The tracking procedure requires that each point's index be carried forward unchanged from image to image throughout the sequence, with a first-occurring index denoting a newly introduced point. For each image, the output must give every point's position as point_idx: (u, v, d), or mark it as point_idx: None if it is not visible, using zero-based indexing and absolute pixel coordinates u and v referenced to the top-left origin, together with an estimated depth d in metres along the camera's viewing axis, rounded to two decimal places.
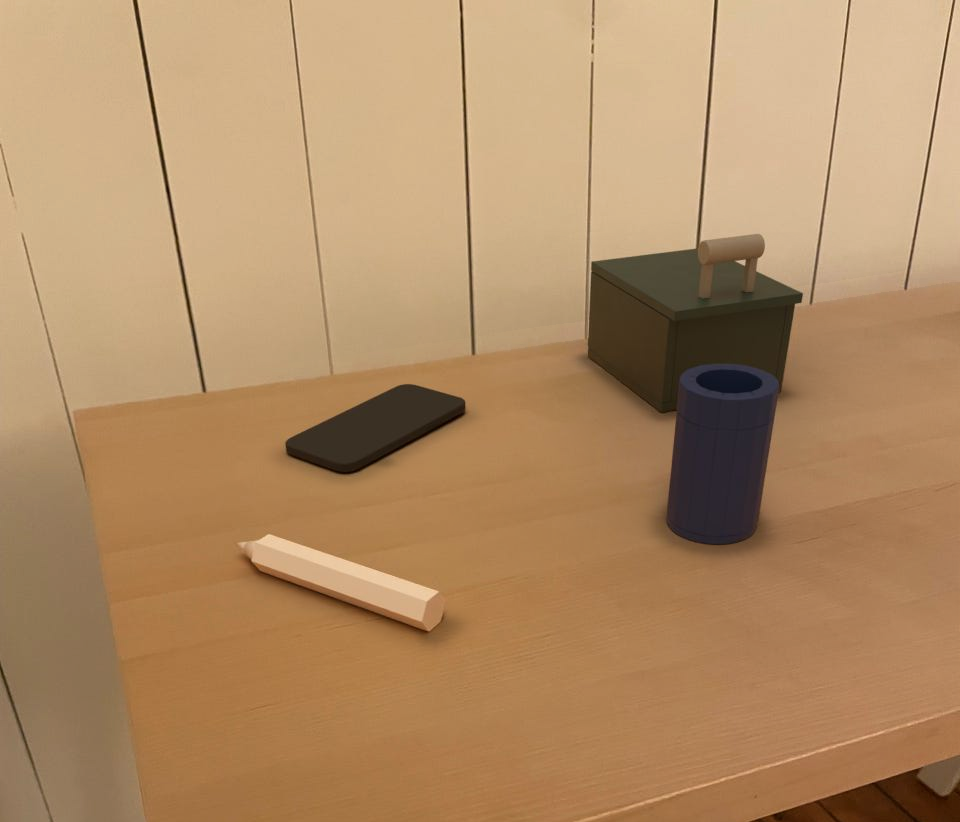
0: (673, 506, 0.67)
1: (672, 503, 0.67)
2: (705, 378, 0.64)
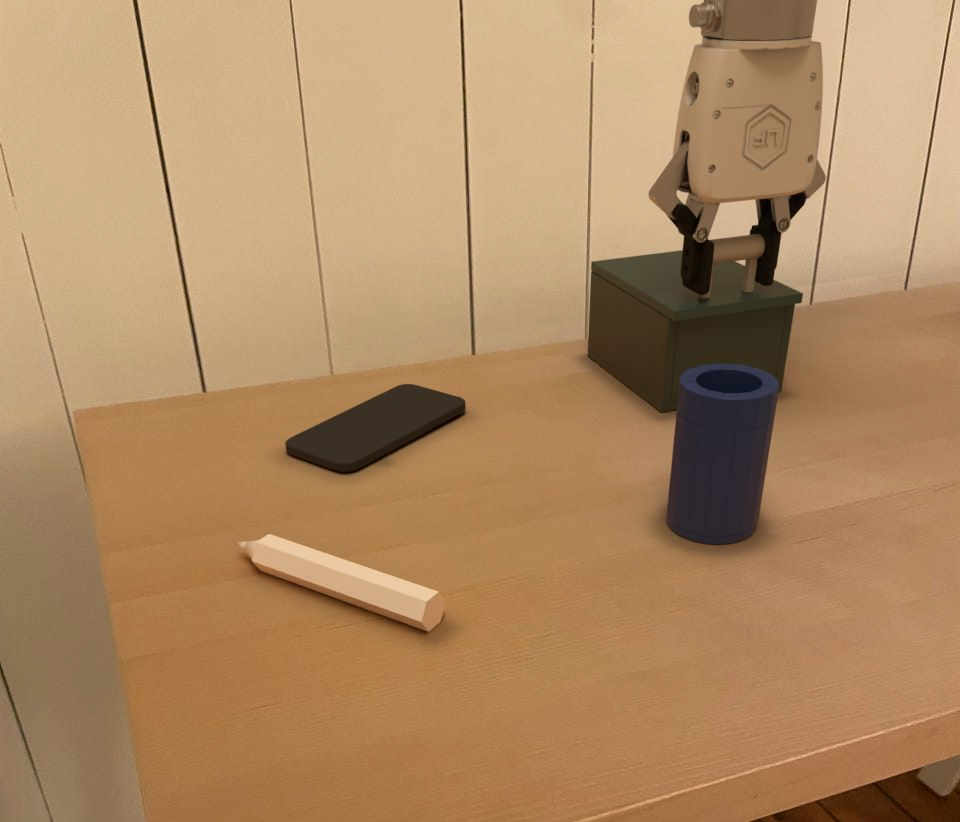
0: (673, 506, 0.67)
1: (672, 503, 0.67)
2: (705, 378, 0.64)
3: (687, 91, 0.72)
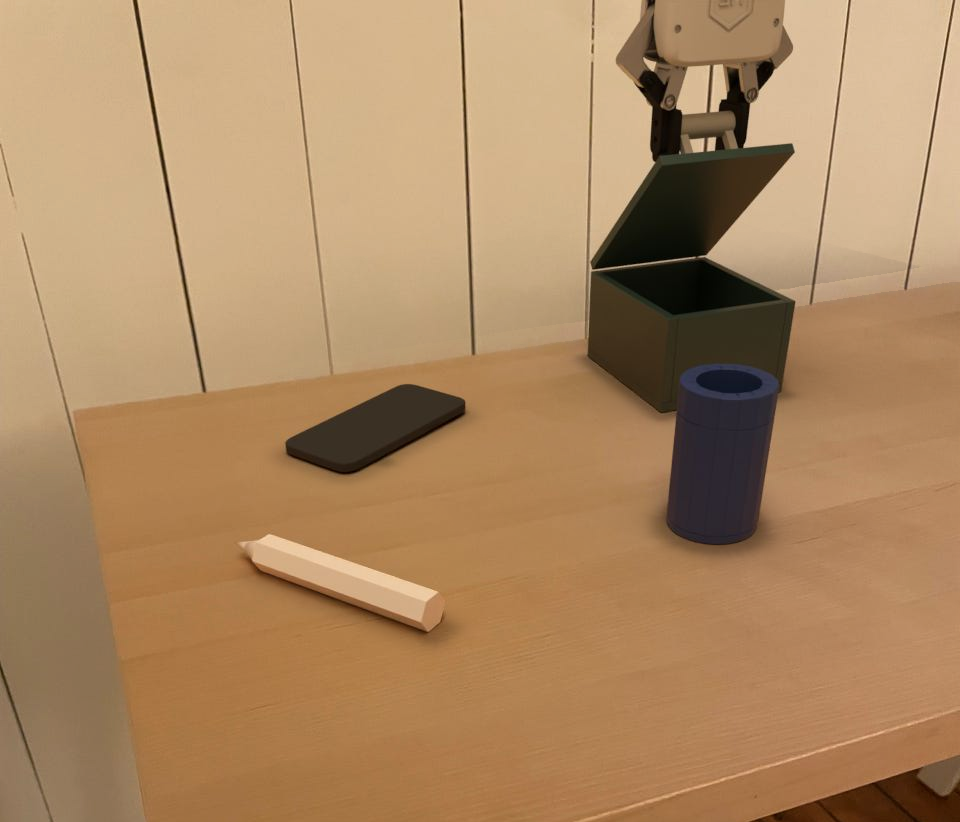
0: (673, 506, 0.67)
1: (672, 503, 0.67)
2: (705, 378, 0.64)
3: None
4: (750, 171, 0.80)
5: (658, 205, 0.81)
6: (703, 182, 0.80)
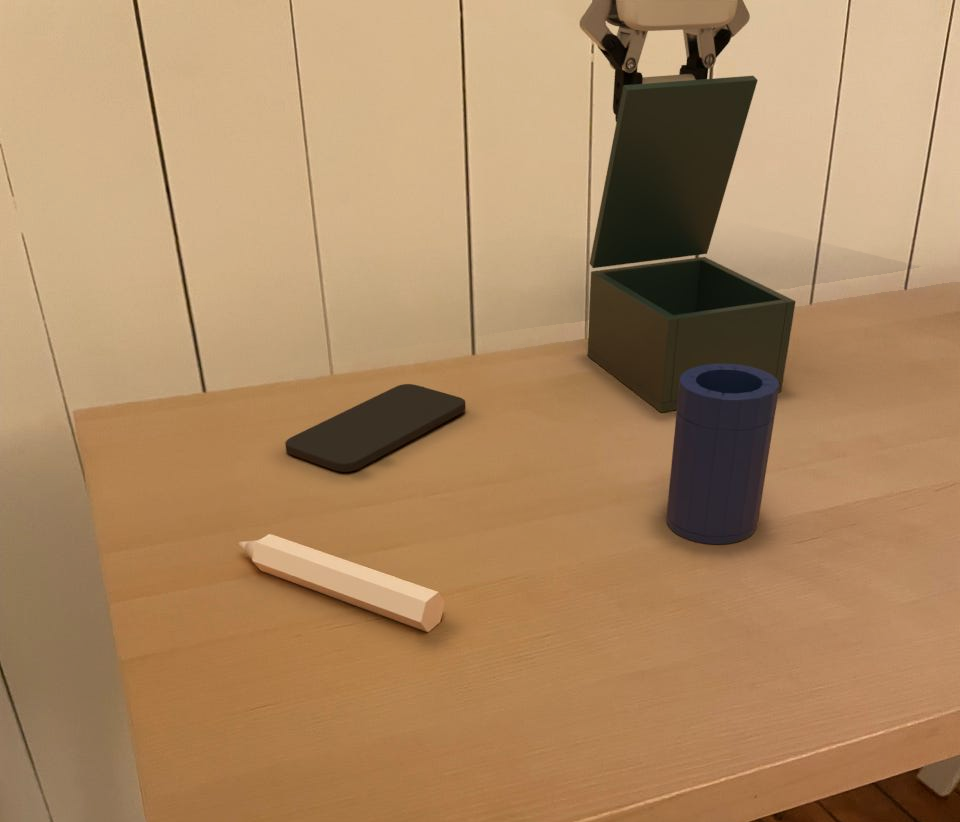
0: (673, 506, 0.67)
1: (672, 503, 0.67)
2: (705, 378, 0.64)
3: None
4: (719, 108, 0.82)
5: (637, 159, 0.83)
6: (675, 123, 0.81)
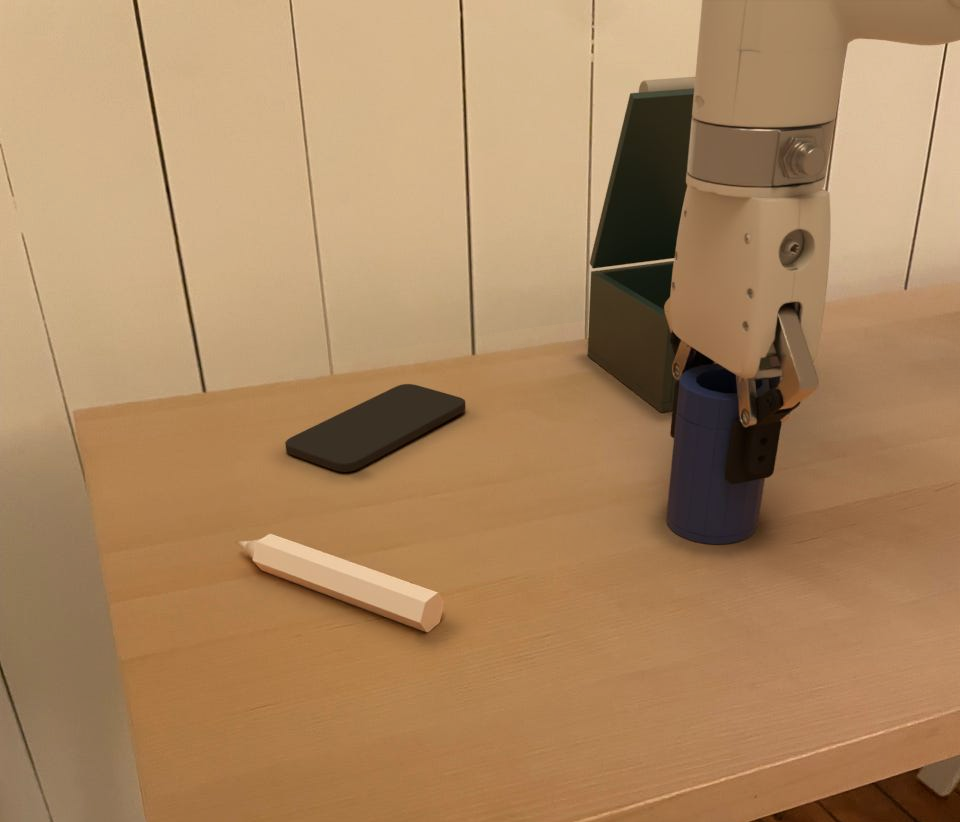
0: (673, 506, 0.67)
1: (672, 503, 0.67)
2: (705, 378, 0.64)
3: None
4: None
5: (641, 165, 0.82)
6: (681, 130, 0.81)
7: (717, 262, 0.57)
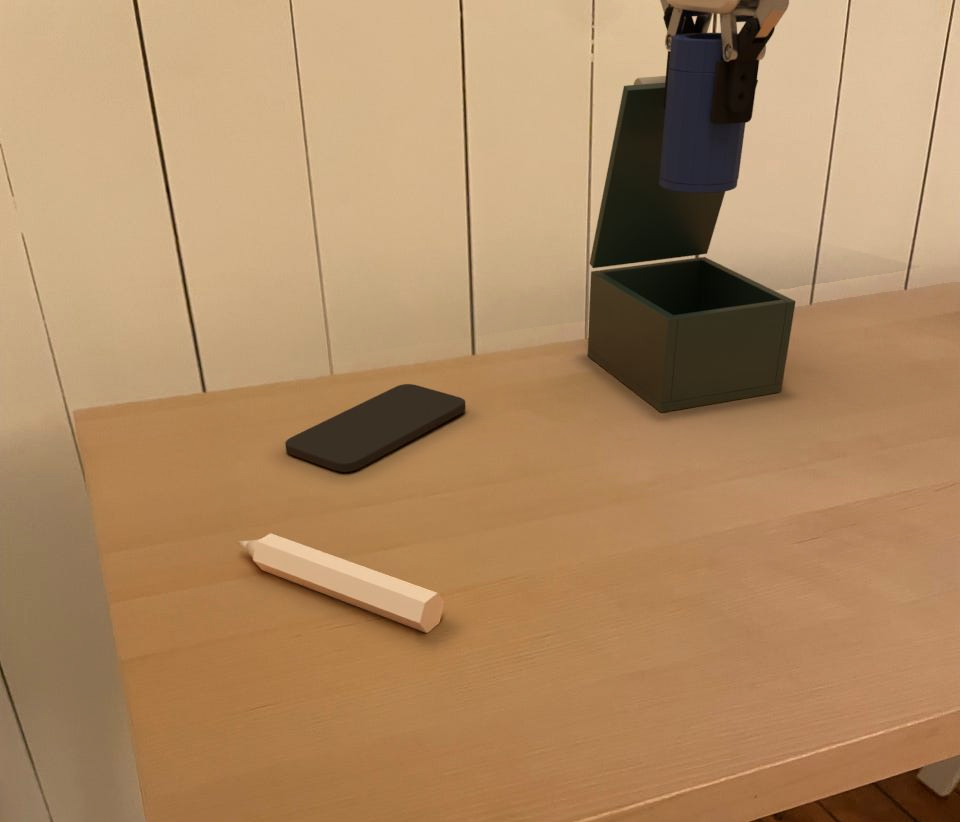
0: (665, 163, 0.77)
1: (664, 160, 0.77)
2: None
3: None
4: None
5: (638, 159, 0.83)
6: None
7: None
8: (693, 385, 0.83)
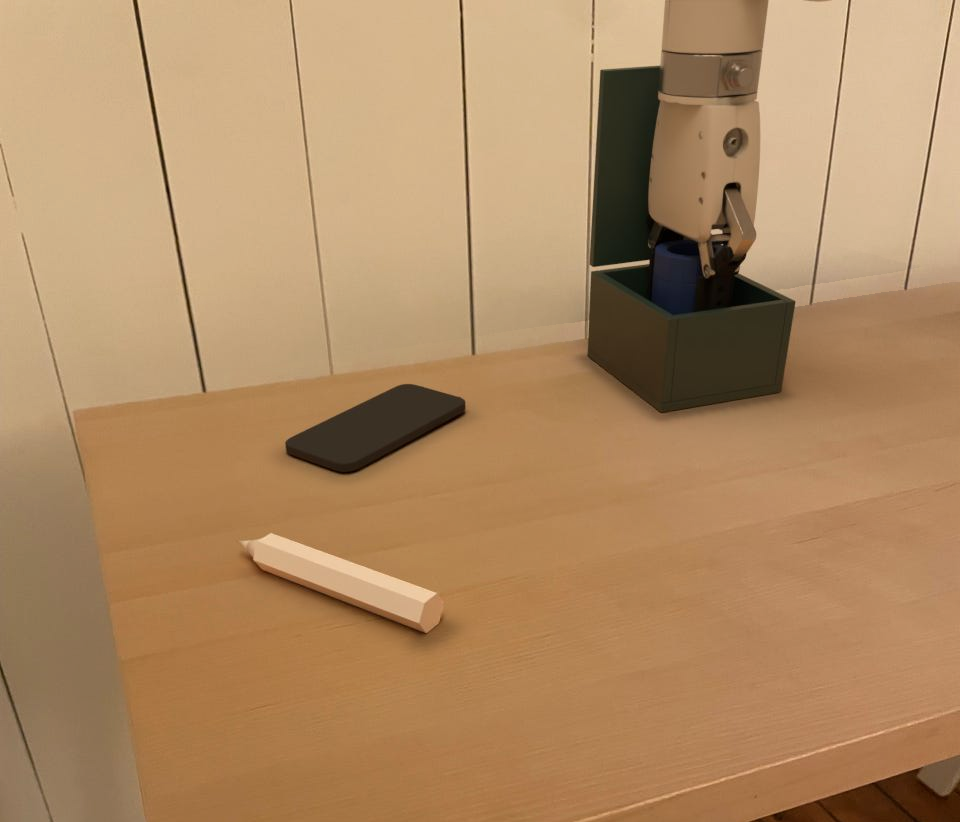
0: None
1: None
2: (674, 249, 0.86)
3: None
4: None
5: (623, 146, 0.85)
6: (656, 107, 0.84)
7: (680, 156, 0.79)
8: (693, 385, 0.83)
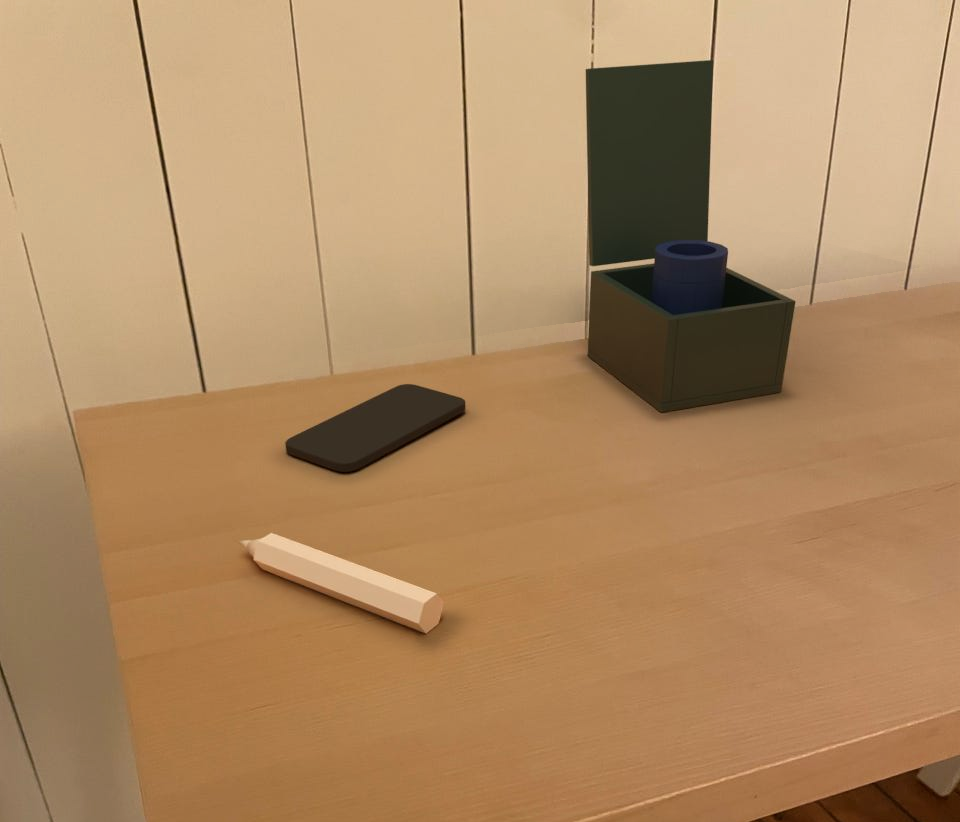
0: None
1: None
2: (674, 249, 0.86)
3: None
4: (683, 89, 0.86)
5: (614, 143, 0.86)
6: (643, 104, 0.85)
7: None
8: (693, 385, 0.83)
